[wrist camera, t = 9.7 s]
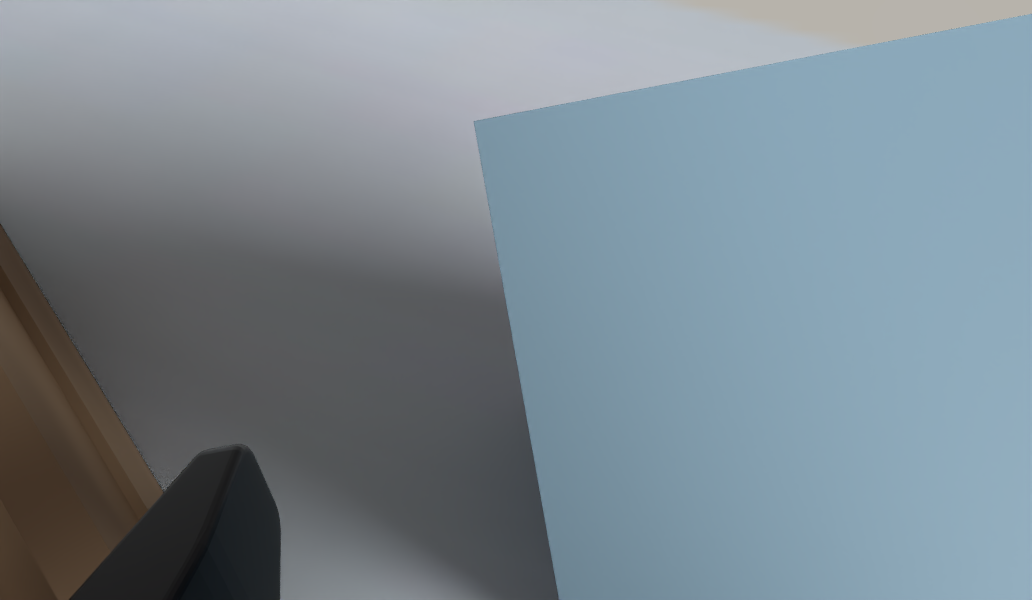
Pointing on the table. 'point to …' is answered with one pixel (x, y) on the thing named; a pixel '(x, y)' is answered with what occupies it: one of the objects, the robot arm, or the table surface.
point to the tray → (56, 452)
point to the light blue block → (781, 324)
